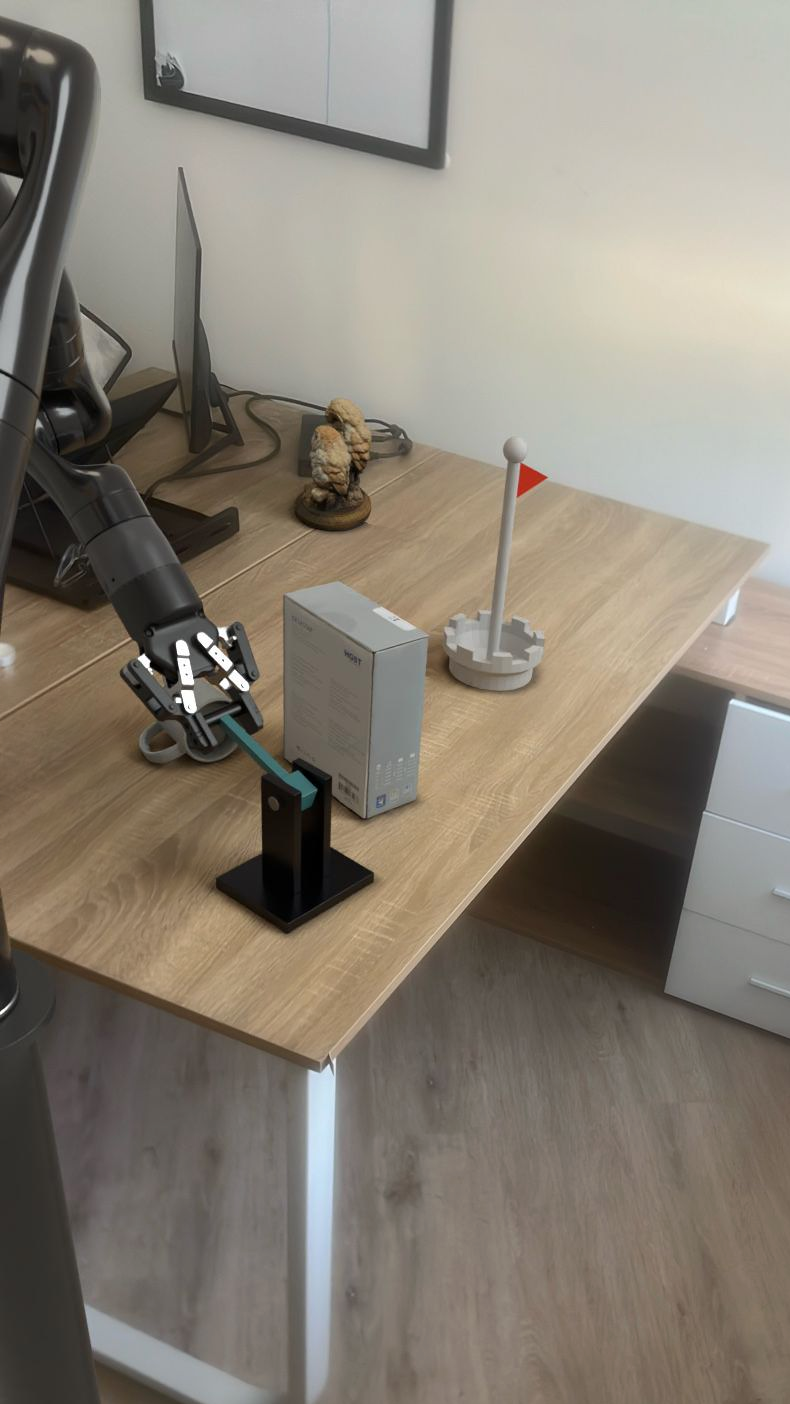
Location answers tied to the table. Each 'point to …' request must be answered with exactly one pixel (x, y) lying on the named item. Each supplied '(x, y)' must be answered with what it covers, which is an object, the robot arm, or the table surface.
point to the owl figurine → (337, 471)
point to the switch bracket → (295, 856)
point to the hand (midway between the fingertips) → (234, 740)
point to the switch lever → (258, 750)
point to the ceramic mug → (205, 703)
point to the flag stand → (498, 606)
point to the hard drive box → (353, 695)
